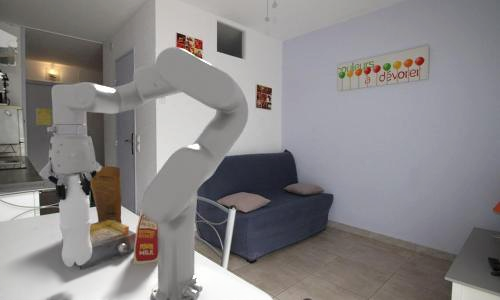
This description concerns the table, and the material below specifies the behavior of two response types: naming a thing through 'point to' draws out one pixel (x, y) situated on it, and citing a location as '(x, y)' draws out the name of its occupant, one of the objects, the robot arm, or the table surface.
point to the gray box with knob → (108, 241)
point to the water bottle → (75, 223)
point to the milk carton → (146, 241)
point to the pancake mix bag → (107, 193)
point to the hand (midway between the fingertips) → (74, 196)
